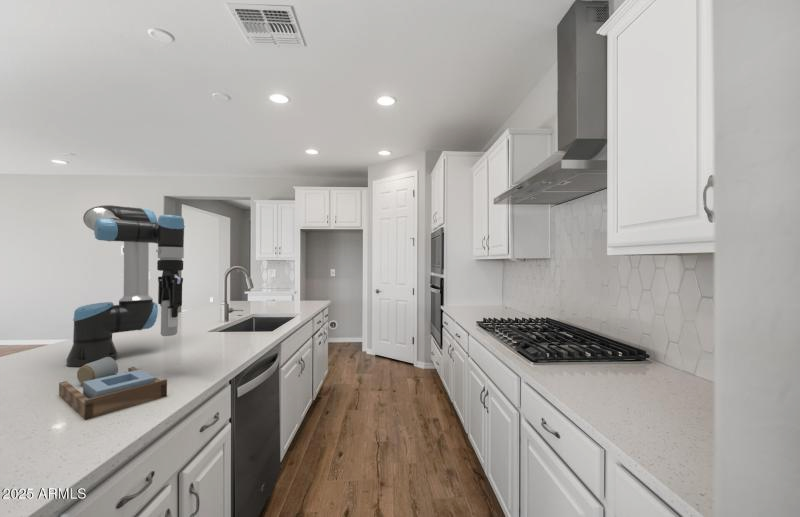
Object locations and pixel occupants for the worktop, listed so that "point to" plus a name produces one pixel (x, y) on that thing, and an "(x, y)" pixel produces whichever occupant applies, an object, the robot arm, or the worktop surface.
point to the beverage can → (166, 320)
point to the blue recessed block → (116, 383)
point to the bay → (111, 398)
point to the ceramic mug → (97, 369)
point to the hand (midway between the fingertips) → (169, 325)
